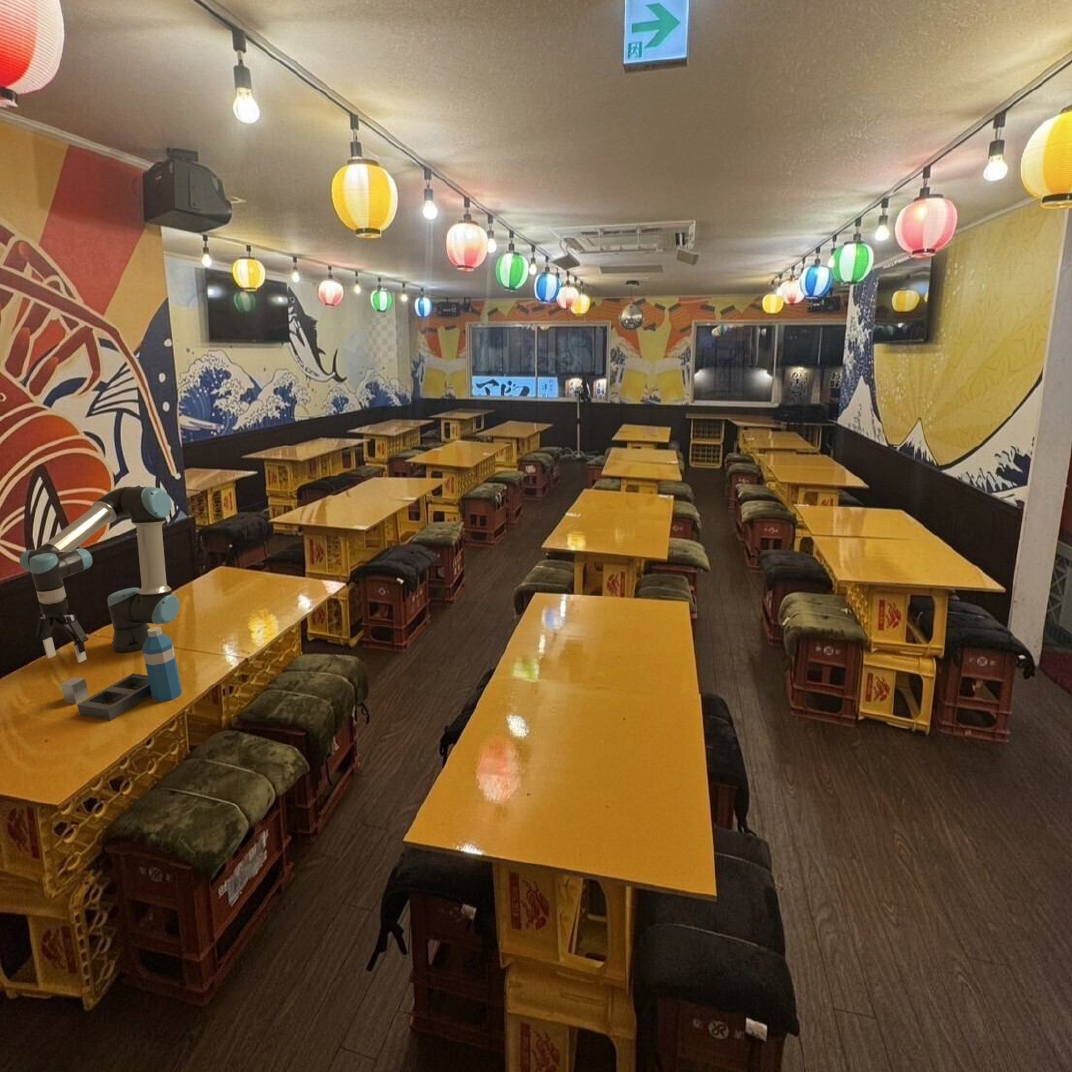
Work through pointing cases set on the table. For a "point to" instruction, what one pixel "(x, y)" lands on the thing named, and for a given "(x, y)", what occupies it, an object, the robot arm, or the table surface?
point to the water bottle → (161, 666)
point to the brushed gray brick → (75, 690)
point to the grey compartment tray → (116, 698)
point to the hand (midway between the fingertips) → (66, 658)
